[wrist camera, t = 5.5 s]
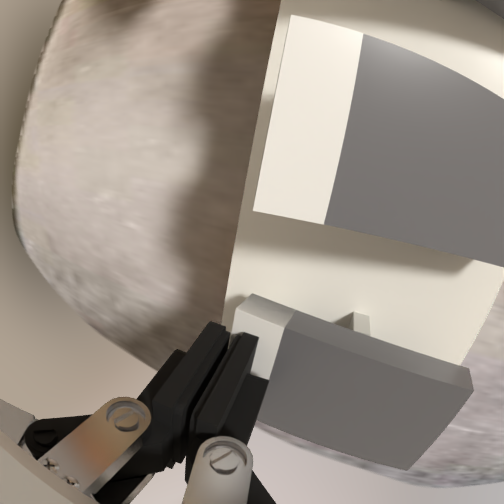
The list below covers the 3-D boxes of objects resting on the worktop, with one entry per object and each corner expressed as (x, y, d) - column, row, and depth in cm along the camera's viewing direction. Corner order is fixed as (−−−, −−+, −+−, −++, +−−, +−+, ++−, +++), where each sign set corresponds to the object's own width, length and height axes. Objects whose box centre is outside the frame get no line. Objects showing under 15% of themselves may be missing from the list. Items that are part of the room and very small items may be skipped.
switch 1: (524, 127, 7) (548, 130, 6) (491, 254, 8) (512, 270, 7) (287, 30, 6) (290, 14, 5) (254, 198, 8) (252, 210, 7)
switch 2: (468, 368, 8) (473, 391, 7) (409, 448, 10) (406, 471, 9) (252, 293, 11) (235, 308, 10) (232, 384, 12) (218, 402, 11)
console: (491, -21, 8) (539, -75, 2) (391, 379, 18) (397, 470, 11) (321, -70, 10) (300, -149, 4) (240, 338, 20) (193, 418, 13)
